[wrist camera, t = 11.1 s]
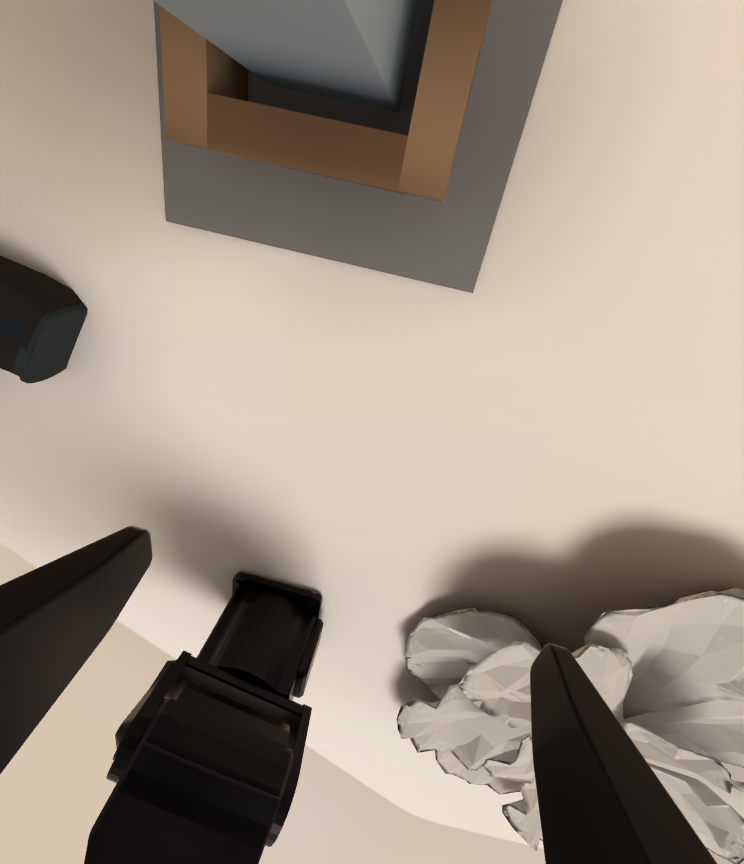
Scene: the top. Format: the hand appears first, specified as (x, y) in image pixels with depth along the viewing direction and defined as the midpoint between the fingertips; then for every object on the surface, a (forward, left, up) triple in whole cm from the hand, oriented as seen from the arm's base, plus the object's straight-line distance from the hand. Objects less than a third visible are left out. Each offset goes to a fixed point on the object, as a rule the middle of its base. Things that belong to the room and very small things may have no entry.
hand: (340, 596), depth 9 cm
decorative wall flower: (+20, -20, -14) cm, 31 cm away
